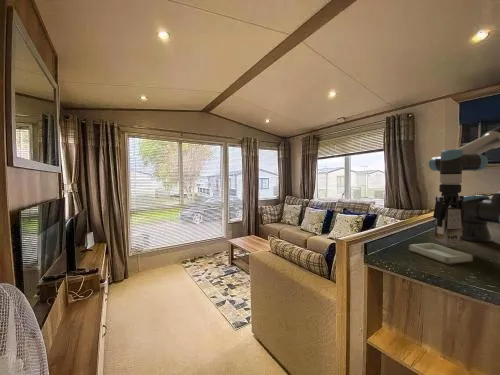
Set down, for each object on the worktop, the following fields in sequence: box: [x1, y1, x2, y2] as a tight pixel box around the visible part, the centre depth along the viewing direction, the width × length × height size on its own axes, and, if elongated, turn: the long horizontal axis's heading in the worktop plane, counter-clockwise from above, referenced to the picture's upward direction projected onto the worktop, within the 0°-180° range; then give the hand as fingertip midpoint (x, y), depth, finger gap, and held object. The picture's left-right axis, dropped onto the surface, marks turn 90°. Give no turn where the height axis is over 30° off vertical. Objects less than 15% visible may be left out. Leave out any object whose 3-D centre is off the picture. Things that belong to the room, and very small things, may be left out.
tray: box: [408, 242, 474, 265], centre depth 95 cm, size 13×16×2 cm
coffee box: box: [434, 206, 464, 246], centre depth 104 cm, size 9×6×16 cm
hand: (448, 232), depth 104 cm, fingers closed on coffee box, 8 cm apart
